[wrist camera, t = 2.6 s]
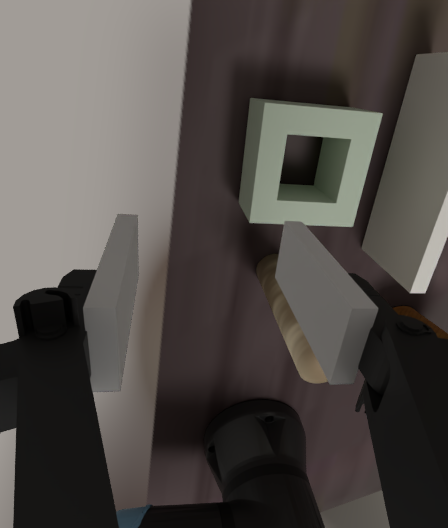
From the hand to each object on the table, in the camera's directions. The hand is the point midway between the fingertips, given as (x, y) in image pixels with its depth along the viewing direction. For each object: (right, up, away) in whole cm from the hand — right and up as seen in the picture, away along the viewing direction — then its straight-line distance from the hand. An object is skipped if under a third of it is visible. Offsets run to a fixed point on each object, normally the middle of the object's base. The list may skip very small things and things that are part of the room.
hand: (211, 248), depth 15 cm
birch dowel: (+6, -1, +28) cm, 28 cm away
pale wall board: (+18, +10, +24) cm, 31 cm away
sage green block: (+7, +10, +22) cm, 25 cm away
